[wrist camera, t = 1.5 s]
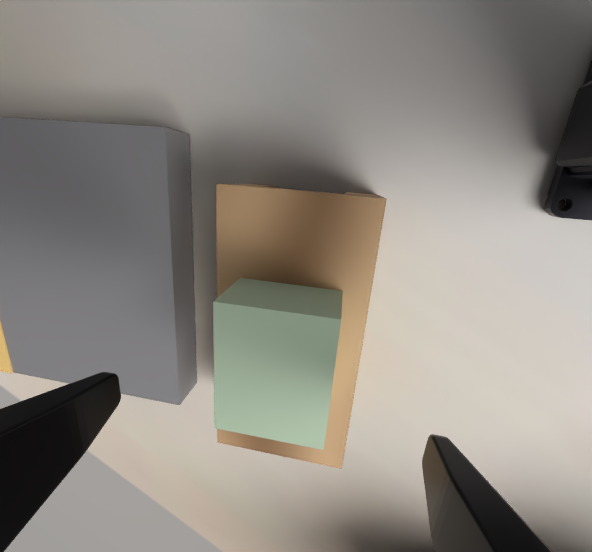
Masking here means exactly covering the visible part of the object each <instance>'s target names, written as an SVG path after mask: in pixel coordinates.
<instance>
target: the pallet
mask: <svg viewBox="0 0 592 552" xmlns="http://www.w3.org/2000/svg"><path fill="white" fill-rule="evenodd" d="M385 205H386V198H383V197H381V196H379V195H375V194H363V193H352V192H345V194H340V193H328V192H317V191H305V190H294V189H282V188H278V186H271V185H259V184H216V231H217V298H218V297H219V296H220V295H221V294H222V293H224V292H225V291H226V290H227V289H228V288H229V287H230V286H232V285H233V284H234V283H235V282H236V281H237V280H238V279H240V278H245V279H253V280H261V281H269V282H277V283H284V284H292V285H300V286H308V287H316V288H323V289H331V290H339V291H343V297H342V315H341V325H340V333H339V340H338V347H337V355H336V362H335V370H334V377H333V385H332V392H331V400H330V407H329V415H328V422H327V430H326V437H325V445H324V450H321V449H316V448H311V447H306V446H301V445H296V444H291V443H286V442H281V441H276V440H271V439H266V438H261V437H256V436H251V435H246V434H241V433H236V432H231V431H226V430H221V429H217V442H218V443H223V444H228V445H232V446H237V447H242V448H246V449H251V450H256V451H261V452H265V453H270V454H275V455H280V456H284V457H289V458H294V459H298V460H303V461H308V462H313V463H317V464H322V465H327V466H331V467H336V468H341V469H342V464H343V458H344V452H345V446H346V440H347V434H348V428H349V422H350V416H351V410H352V404H353V398H354V392H355V386H356V380H357V374H358V368H359V362H360V356H361V350H362V343H363V337H364V331H365V325H366V319H367V313H368V307H369V301H370V295H371V289H372V283H373V277H374V271H375V265H376V259H377V253H378V247H379V241H380V235H381V229H382V223H383V217H384V211H385Z"/></svg>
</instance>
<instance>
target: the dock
mask: <svg viewBox="0 0 592 552" xmlns="http://www.w3.org/2000/svg"><path fill="white" fill-rule="evenodd" d="M0 371H2V372H8V373H13V372H14V373H19V374H24V375H29V376H35V377H40V378H45V379H50V380H55V381H60V382H65V383H73V382H76V381H79V380H81V379H84V378H87V377H90V376H92V375H95V374H98V373H101V372H110V373H115V374H117V376H118V377H119V384H120V392H121V394H126V395H131V396H136V397H141V398H146V399H151V400H156V401H161V402H166V403H171V404H176V405H180V404H181V403H182V401H183V400H184V399H185V397H186V396H187V395H188V393H189V392H190V391H191V390H192V388H193V387H194V386H195V384H196V383H197V371H196V338H195V305H194V271H193V238H192V205H191V172H190V138H189V134H187V133H183V132H180V131H177V130H173V129H170V128H167V127H158V126H142V125H125V124H109V123H93V122H77V121H61V120H44V119H28V118H12V117H0Z"/></svg>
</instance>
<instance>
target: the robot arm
mask: <svg viewBox="0 0 592 552" xmlns="http://www.w3.org/2000/svg"><path fill="white" fill-rule="evenodd" d="M556 162H557V164H558V165H557V168H556V171H555V174H554V177H553V180H552V184H551V187H550V190H549V193H548V196H547V199H546V202H545V210H546V212H547V213H548V214H549V215H551V216H555V217H561V218H572V219H583V220H592V61H591V64H590V67H589V71H588V74H587V77H586V80H585V83H584V86H582V87H581V88H580V89H579V90H578V91H577V94H576V97H575V100H574V104H573V107H572V110H571V113H570V116H569V119H568V122H567V125H566V128H565V131H564V134H563V138H562V141H561V144H560V147H559V150H558V153H557V156H556ZM562 199H564V200H565V201H566V205H565V206H564V208H562V209H561V210H559V209H558V203H559V202H560V201H561V200H562ZM120 399H121V392H120V384H119V377H118V376H117V374H115V373H110V372H101V373H98V374H95V375H92V376H90V377H87V378H84V379H81V380H79V381H76V382H73V383H70V384H68V385H65V386H62V387H59V388H57V389H54V390H51V391H48V392H46V393H43V394H40V395H38V396H35V397H32V398H29V399H27V400H24V401H21V402H18V403H16V404H13V405H10V406H8V407H5V408H2V409H0V552H4V551H5V550H6V548H7V547H8V546H9V545H10V543H11V542H12V541H13V540H14V539H15V537H16V536H17V535H18V534H19V532H20V531H21V530H22V529H23V528H24V526H25V525H26V524H27V523H28V521H29V520H30V519H31V518H32V517H33V516H34V514H35V513H36V512H37V511H38V509H39V508H40V507H41V506H42V505H43V503H44V502H45V501H46V500H47V498H48V497H49V496H50V495H51V494H52V492H53V491H54V490H55V489H56V487H57V486H58V485H59V484H60V483H61V481H62V480H63V479H64V478H65V477H66V475H67V474H68V473H69V472H70V470H71V469H72V468H73V467H74V466H75V464H76V463H77V462H78V461H79V459H80V458H81V457H82V456H83V454H84V453H85V452H86V450H87V449H88V448H89V446H90V445H91V443H92V442H93V440H94V439H95V438H96V436H97V435H98V433H99V432H100V430H101V429H102V428H103V426H104V425H105V423H106V422H107V420H108V419H109V417H110V416H111V415H112V413H113V412H114V410H115V409H116V407H117V406H118V404H119V402H120ZM422 467H423V476H424V483H425V491H426V499H427V507H428V515H429V523H430V530H431V536H432V541H433V546H434V551H435V552H552V551H551V550H550V549H549V548H548V547H547V546H546V545H545V543H544V542H543V541H542V540H541V539H540V538H539V537H538V536H537V535H536V534H535V533H534V531H533V530H532V529H531V528H530V527H529V526H528V525H527V524H526V523H525V522H524V521H523V519H522V518H521V517H520V516H519V515H518V514H517V513H516V512H515V511H514V510H513V509H512V507H511V506H510V505H509V504H508V503H507V502H506V501H505V500H504V499H503V498H502V496H501V495H500V494H499V493H498V492H497V491H496V490H495V489H494V488H493V487H492V486H491V484H490V483H489V482H488V481H487V480H486V479H485V478H484V477H483V476H482V475H481V474H480V472H479V471H478V470H477V469H476V468H475V467H474V466H473V465H472V464H471V463H470V462H469V460H468V459H467V458H466V457H465V456H464V455H463V454H462V453H461V452H460V451H459V449H458V448H457V447H456V446H455V445H454V444H453V443H452V442H451V441H450V440H449V439H448V438H447V437H444V436H439V435H433V434H432V435H430V436H429V438H428V441H427V444H426V448H425V452H424V455H423V460H422Z"/></svg>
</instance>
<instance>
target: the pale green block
mask: <svg viewBox="0 0 592 552" xmlns="http://www.w3.org/2000/svg"><path fill="white" fill-rule="evenodd" d="M342 297H343V291H339V290H331V289H323V288H316V287H308V286H300V285H292V284H284V283H277V282H269V281H261V280H253V279H245V278H240V279H238V280H237V281H236V282H235V283H234V284H233V285H232V286H230V287H229V288H228V289H227V290H226V291H225V292H224V293H222V294H221V295H220V296H219V297H218V298H217V299H216V300H214V301H213V338H214V428H216V429H221V430H226V431H231V432H236V433H241V434H246V435H251V436H256V437H261V438H266V439H271V440H276V441H281V442H286V443H291V444H296V445H301V446H306V447H311V448H316V449H321V450H324V445H325V437H326V430H327V422H328V415H329V407H330V400H331V392H332V385H333V377H334V370H335V362H336V355H337V347H338V340H339V333H340V325H341V315H342Z"/></svg>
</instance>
